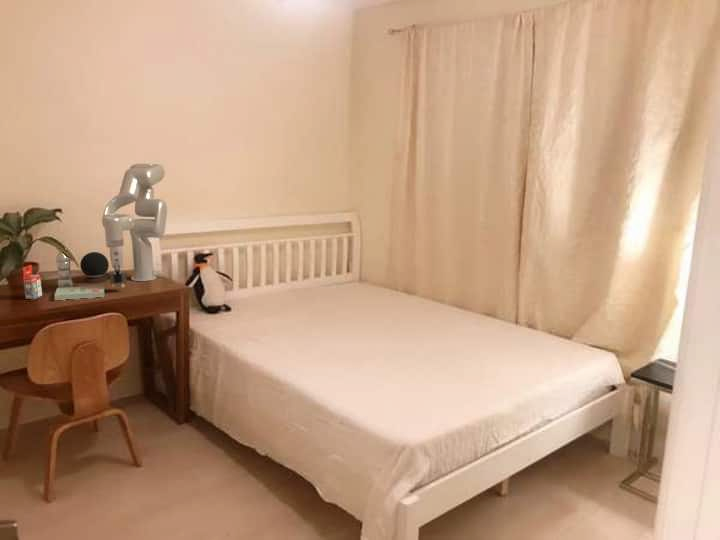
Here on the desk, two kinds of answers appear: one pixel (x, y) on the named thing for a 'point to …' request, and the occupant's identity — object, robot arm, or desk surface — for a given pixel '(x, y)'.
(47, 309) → the desk surface
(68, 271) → the plastic bottle
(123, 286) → the plug
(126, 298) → the desk surface
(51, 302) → the desk surface
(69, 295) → the pale green book
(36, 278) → the ink box
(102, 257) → the round black speaker
